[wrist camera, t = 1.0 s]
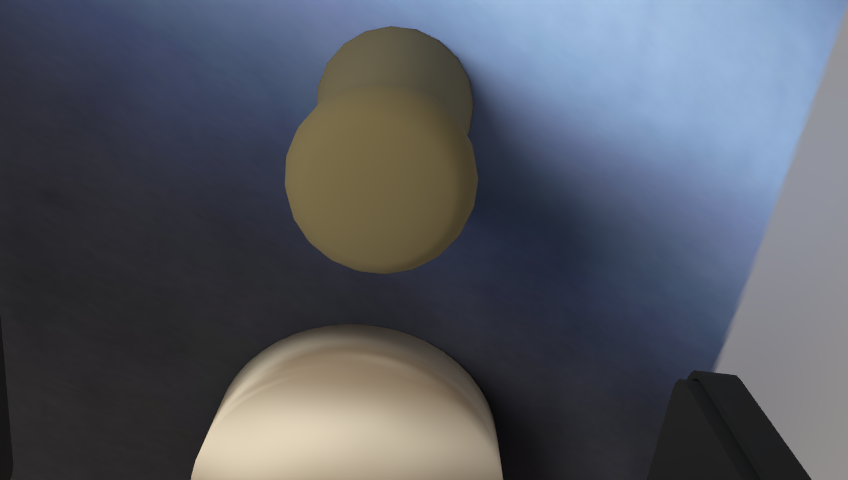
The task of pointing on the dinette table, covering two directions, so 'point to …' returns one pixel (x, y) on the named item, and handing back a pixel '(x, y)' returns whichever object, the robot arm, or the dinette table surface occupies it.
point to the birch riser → (351, 413)
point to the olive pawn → (385, 153)
